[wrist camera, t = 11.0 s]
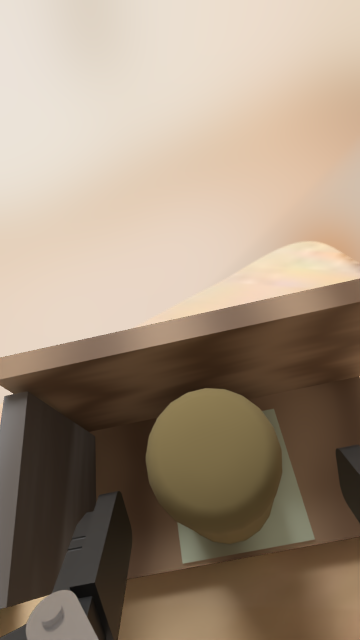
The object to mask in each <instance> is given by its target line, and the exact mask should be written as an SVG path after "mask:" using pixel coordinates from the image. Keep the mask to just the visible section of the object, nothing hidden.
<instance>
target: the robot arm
mask: <svg viewBox="0 0 360 640" xmlns="http://www.w3.org/2000/svg"><path fill="white" fill-rule="evenodd" d="M336 461H337V468H338V475H339V482H340V488H341V491H342V494H343V497H344V499H345V501H346V503H347V505H348V506H349V508H350V509H351V511H352V512H353V514H354V515H355V517H356V518H357V520H358V522H359V523H360V446H359V445H352V446H347V447H342V448H337V449H336ZM131 549H132V529H131V524H130V521H129V517H128V514H127V510H126V507H125V504H124V500H123V497H122V494H121V492H120V491H116V492H111V493H106V494H101V495H99V496H98V499H97V502H96V505H95V508H94V511H92V512H87V513H86V514H85V515H84V516H83V518H82V519H81V520H80V521H79V523H78V524H77V526H76V528H75V531H74V534H73V536H72V541H71V542H70V545H69V547H68V552H67V553H66V556H65V558H64V561H63V564H62V567H61V569H60V572H59V575H58V578H57V580H56V583H55V586H54V589H53V591H52V594H50V595H49V596H47V597H46V598H44V599H43V600H42V601H41V602H40V603H39V604H38V605H37V606H36V607H35V609H34V610H33V612H32V613H31V615H30V617H29V619H28V621H27V624H25V625H24V626H22V627H20V628H18V629H16V630H14V631H12V632H10V633H8V634H6V635H4V636H2V637H1V638H0V640H118V633H119V627H120V620H121V614H122V607H123V601H124V594H125V588H126V581H127V575H128V568H129V562H130V555H131Z"/></svg>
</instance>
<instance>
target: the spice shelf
mask: <svg viewBox="0 0 360 640" xmlns="http://www.w3.org/2000/svg"><path fill="white" fill-rule="evenodd" d="M359 376H360V279H356V280H352V281H347V282H343V283H338V284H334V285H329V286H324V287H320V288H315V289H311V290H306V291H302V292H297V293H292V294H288V295H283V296H279V297H274V298H270V299H265V300H261V301H256V302H251V303H247V304H242V305H238V306H233V307H229V308H224V309H220V310H215V311H210V312H206V313H201V314H197V315H192V316H188V317H183V318H179V319H174V320H169V321H165V322H160V323H156V324H151V325H147V326H142V327H138V328H133V329H128V330H124V331H119V332H115V333H110V334H106V335H101V336H97V337H92V338H87V339H84V340H78V341H74V342H69V343H65V344H60V345H56V346H51V347H47V348H42V349H37V350H33V351H28V352H24V353H19V354H14V355H10V356H5V357H1V358H0V386H2V387H4V388H5V389H7V390H9V391H10V392H12V393H13V395H8V396H5V397H4V403H3V410H2V417H1V425H0V609H1V608H7V607H10V606H13V605H17V604H20V603H23V602H27V601H30V600H33V599H37V598H40V597H43V596H47V595H50V594H52V591H53V589H54V586H55V583H56V580H57V578H58V575H59V572H60V569H61V567H62V564H63V561H64V558H65V556H66V553H67V552H68V547H69V545H70V542H71V541H72V536H73V534H74V531H75V528H76V526H77V524H78V523H79V521H80V520H81V519H82V518H83V516H84V515H85V514H86V513H87V512H92V511H94V508H95V505H96V502H97V499H98V496H99V495H101V494H106V493H111V492H116V491H120V492H121V494H122V497H123V500H124V504H125V507H126V510H127V514H128V517H129V521H130V524H131V529H132V549H131V555H130V562H129V568H128V575H127V579H131V578H137V577H142V576H148V575H153V574H158V573H164V572H169V571H175V570H180V569H186V568H191V567H197V566H202V565H208V564H213V563H219V562H224V561H230V560H235V559H241V558H246V557H252V556H257V555H263V554H268V553H274V552H279V551H285V550H290V549H295V548H301V547H306V546H312V545H317V544H323V543H328V542H334V541H339V540H345V539H350V538H356V537H360V523H359V522H358V520H357V518H356V517H355V515H354V514H353V512H352V511H351V509H350V508H349V506H348V505H347V503H346V501H345V499H344V497H343V494H342V491H341V488H340V482H339V475H338V468H337V461H336V449H337V448H342V447H347V446H352V445H359V446H360V377H359ZM204 388H213V389H226V390H228V391H231V392H234V393H237V394H239V395H242V396H244V397H245V398H247V399H248V400H249V401H251V402H252V403H253V404H255V405H256V406H257V407H259V408H260V410H261V411H262V412H263V414H264V415H265V416H266V418H267V419H268V420H269V422H270V423H271V424H272V426H273V427H274V429H275V432H276V435H277V438H278V441H279V443H280V446H281V449H282V471H283V473H282V476H281V480H280V483H279V487H278V491H277V494H276V496H275V498H274V502H273V506H272V509H271V513H270V516H269V518H268V519H267V521H266V522H265V524H264V525H263V527H262V528H261V530H260V531H258V532H257V533H256V534H254V535H253V536H251V537H250V538H249V539H247V540H245V541H241V542H237V543H233V544H225V543H217V542H212V541H210V540H209V539H207V538H205V537H203V536H201V535H199V534H198V533H197V532H195V531H193V530H192V529H190V528H188V527H186V526H184V525H182V524H180V523H178V522H176V521H175V520H174V519H173V518H172V517H171V516H170V515H169V514H168V513H167V512H166V511H165V510H164V509H163V507H162V506H161V505H160V504H159V503H158V501H157V499H156V496H155V494H154V492H153V490H152V488H151V486H150V484H149V479H148V472H147V465H146V452H147V445H148V439H149V435H150V433H151V430H152V428H153V426H154V424H155V422H156V420H157V418H158V416H159V415H160V414H161V413H162V412H163V411H164V410H165V409H166V407H167V406H168V405H169V404H170V403H171V402H173V401H174V400H176V399H178V398H179V397H181V396H183V395H184V394H186V393H188V392H192V391H196V390H200V389H204Z"/></svg>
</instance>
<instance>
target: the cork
mask: <svg viewBox="0 0 360 640" xmlns="http://www.w3.org/2000/svg"><path fill="white" fill-rule="evenodd" d="M146 465H147V472H148V479H149V484H150V486H151V488H152V490H153V492H154V494H155V496H156V499H157V501H158V503H159V504H160V505H161V506H162V507H163V509H164V510H165V511H166V512H167V513H168V514H169V515H170V516H171V517H172V518H173V519H174V520H175V521H176V522H178V523H180V524H182V525H184V526H186V527H188V528H190V529H192V530H193V531H195V532H197V533H198V534H199V535H201V536H203V537H205V538H207V539H209V540H210V541H212V542H217V543H225V544H233V543H237V542H241V541H245V540H247V539H249V538H250V537H251V536H253V535H254V534H256V533H257V532H258V531H260V530H261V528H262V527H263V525H264V524H265V522H266V521H267V519H268V518H269V516H270V513H271V509H272V506H273V502H274V498H275V496H276V494H277V491H278V487H279V483H280V480H281V476H282V473H283V471H282V449H281V446H280V443H279V441H278V438H277V435H276V432H275V429H274V427H273V426H272V424H271V423H270V422H269V420H268V419H267V418H266V416H265V415H264V414H263V412H262V411H261V410H260V408H259V407H257V406H256V405H255V404H253V403H252V402H251V401H249V400H248V399H247V398H245V397H244V396H242V395H239V394H237V393H234V392H231V391H228V390H226V389H213V388H204V389H200V390H196V391H192V392H188V393H186V394H184V395H183V396H181V397H179V398H178V399H176V400H174V401H173V402H171V403H170V404H169V405H168V406H167V407H166V409H165V410H164V411H163V412H162V413H161V414H160V415H159V416H158V418H157V420H156V422H155V424H154V426H153V428H152V430H151V433H150V435H149V439H148V445H147V452H146Z"/></svg>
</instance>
